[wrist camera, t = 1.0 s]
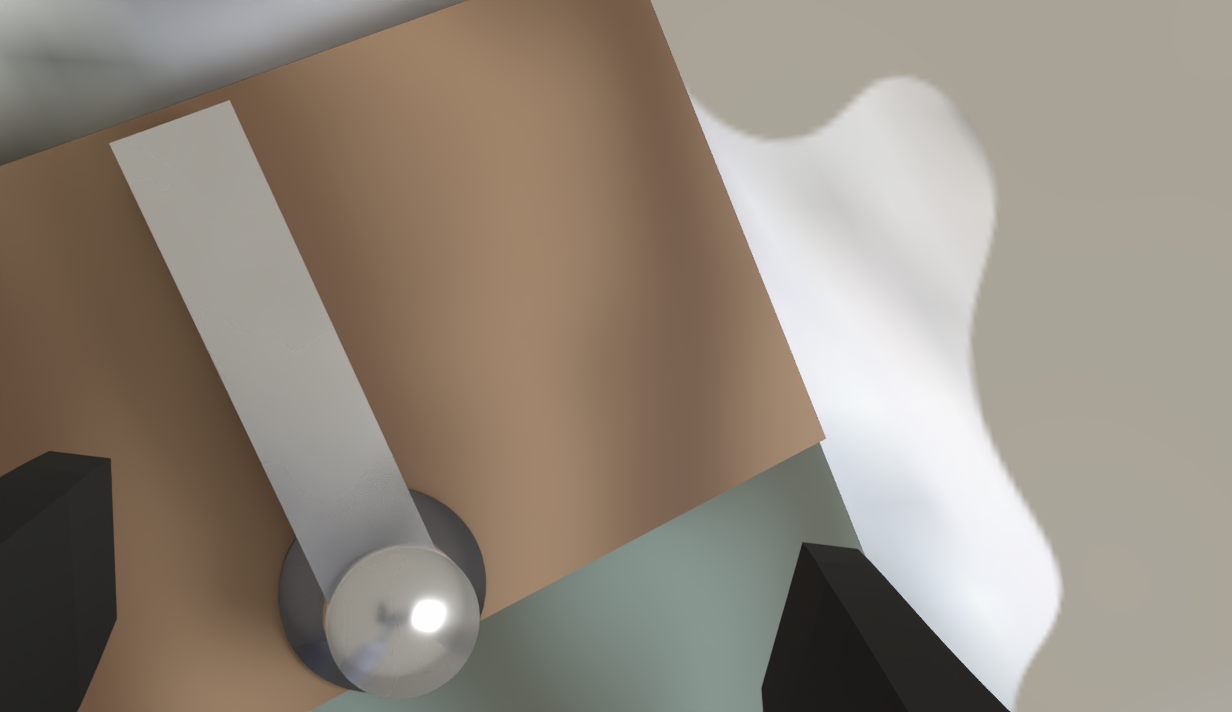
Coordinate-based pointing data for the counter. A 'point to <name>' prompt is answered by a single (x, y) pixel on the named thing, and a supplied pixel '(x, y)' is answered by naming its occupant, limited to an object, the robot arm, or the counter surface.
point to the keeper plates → (303, 586)
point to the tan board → (445, 370)
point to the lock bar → (302, 407)
